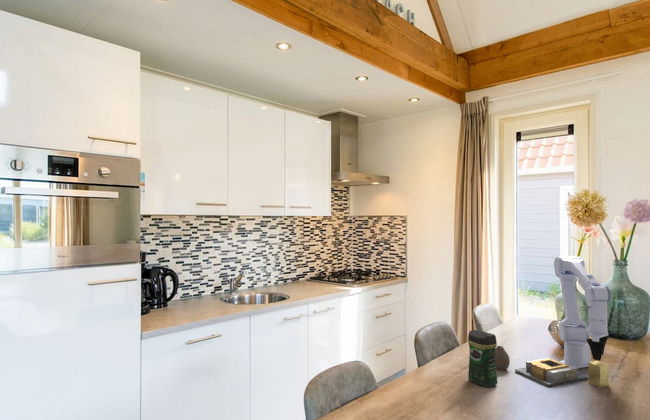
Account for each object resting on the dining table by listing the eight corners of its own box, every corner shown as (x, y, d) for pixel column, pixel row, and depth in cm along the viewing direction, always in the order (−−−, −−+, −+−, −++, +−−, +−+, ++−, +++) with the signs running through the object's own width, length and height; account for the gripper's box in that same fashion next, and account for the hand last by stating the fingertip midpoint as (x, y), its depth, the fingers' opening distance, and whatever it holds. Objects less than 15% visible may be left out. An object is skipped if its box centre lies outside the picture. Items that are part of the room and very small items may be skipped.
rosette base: (552, 365, 163) (552, 353, 163) (588, 379, 149) (588, 366, 149) (515, 371, 156) (514, 360, 156) (548, 387, 142) (548, 374, 142)
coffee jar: (501, 385, 144) (500, 333, 144) (486, 389, 140) (486, 336, 140) (478, 375, 152) (478, 326, 152) (464, 380, 148) (464, 329, 148)
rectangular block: (596, 381, 147) (596, 360, 147) (608, 385, 143) (608, 364, 143) (588, 383, 145) (588, 362, 145) (600, 387, 141) (600, 366, 141)
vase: (511, 372, 155) (511, 350, 155) (492, 371, 156) (492, 349, 156) (507, 366, 162) (507, 344, 162) (489, 365, 163) (489, 343, 163)
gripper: (587, 313, 153) (587, 349, 152) (581, 321, 141) (582, 359, 141) (610, 316, 148) (610, 353, 148) (605, 324, 137) (606, 364, 137)
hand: (598, 357), depth 144 cm, fingers open, 7 cm apart
